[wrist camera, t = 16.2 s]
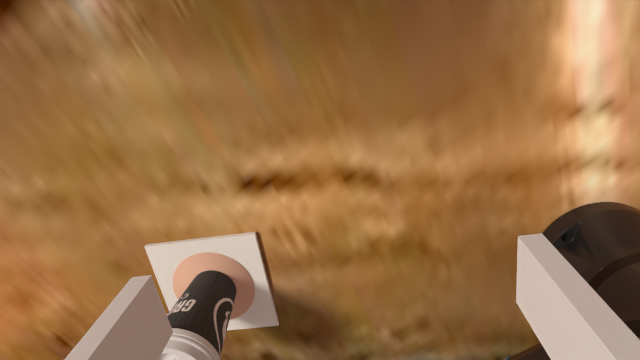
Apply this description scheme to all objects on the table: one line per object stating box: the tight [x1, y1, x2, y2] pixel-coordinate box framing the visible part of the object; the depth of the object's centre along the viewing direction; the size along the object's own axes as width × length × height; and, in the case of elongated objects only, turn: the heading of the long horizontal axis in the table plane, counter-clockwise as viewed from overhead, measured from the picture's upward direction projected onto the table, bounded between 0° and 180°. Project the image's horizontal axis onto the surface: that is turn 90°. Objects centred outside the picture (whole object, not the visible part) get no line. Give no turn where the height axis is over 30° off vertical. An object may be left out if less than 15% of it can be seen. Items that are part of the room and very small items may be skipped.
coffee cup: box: [158, 270, 236, 360], centre depth 50 cm, size 10×10×15 cm
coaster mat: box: [145, 232, 279, 330], centre depth 57 cm, size 16×16×1 cm
